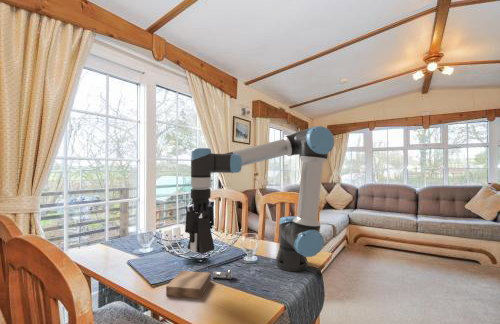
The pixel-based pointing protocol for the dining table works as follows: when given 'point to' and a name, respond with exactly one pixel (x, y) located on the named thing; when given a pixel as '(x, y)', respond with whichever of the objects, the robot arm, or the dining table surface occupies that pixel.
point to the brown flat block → (188, 284)
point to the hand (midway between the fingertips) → (200, 247)
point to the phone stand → (203, 236)
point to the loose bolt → (223, 274)
